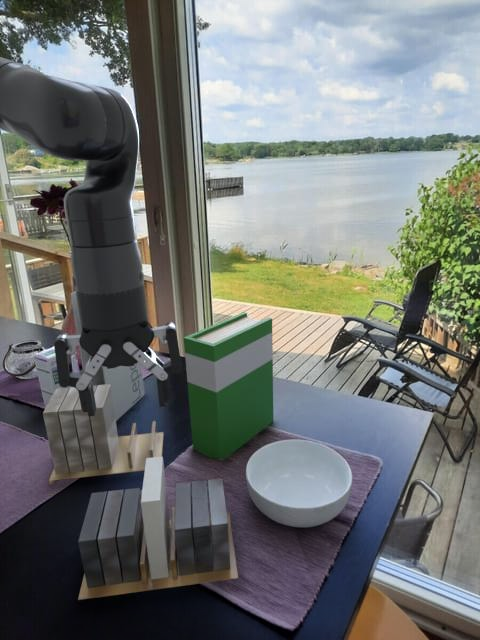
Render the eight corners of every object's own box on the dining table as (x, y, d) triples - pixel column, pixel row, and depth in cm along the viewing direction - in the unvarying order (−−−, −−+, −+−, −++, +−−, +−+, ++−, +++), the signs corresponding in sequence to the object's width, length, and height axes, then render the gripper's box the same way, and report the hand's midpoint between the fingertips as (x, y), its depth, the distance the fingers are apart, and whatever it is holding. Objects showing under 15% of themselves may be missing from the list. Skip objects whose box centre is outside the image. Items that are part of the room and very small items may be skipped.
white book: (151, 579, 60) (140, 502, 55) (155, 528, 68) (146, 458, 64) (169, 577, 60) (159, 500, 55) (170, 526, 68) (162, 456, 64)
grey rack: (79, 605, 57) (67, 552, 55) (95, 533, 69) (87, 486, 66) (238, 583, 60) (236, 531, 57) (229, 517, 71) (227, 471, 68)
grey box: (112, 424, 98) (92, 295, 88) (91, 421, 100) (69, 293, 90) (144, 394, 111) (131, 278, 101) (125, 391, 112) (110, 277, 102)
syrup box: (59, 415, 103) (48, 358, 98) (44, 408, 106) (32, 353, 101) (79, 404, 107) (69, 349, 102) (64, 398, 110) (54, 344, 106)
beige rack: (49, 485, 80) (35, 417, 75) (66, 445, 91) (54, 385, 86) (161, 472, 82) (153, 406, 77) (163, 436, 93) (157, 376, 89)
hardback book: (247, 411, 102) (243, 312, 94) (273, 421, 97) (272, 318, 89) (193, 448, 89) (183, 337, 81) (220, 462, 84) (213, 346, 76)
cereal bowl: (244, 544, 66) (243, 506, 63) (248, 471, 81) (247, 438, 79) (360, 546, 65) (362, 507, 62) (341, 471, 80) (342, 438, 78)
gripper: (172, 270, 54) (182, 387, 60) (50, 279, 52) (73, 401, 57) (175, 285, 47) (187, 416, 53) (34, 297, 45) (62, 433, 50)
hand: (127, 408), depth 55 cm, fingers open, 8 cm apart
